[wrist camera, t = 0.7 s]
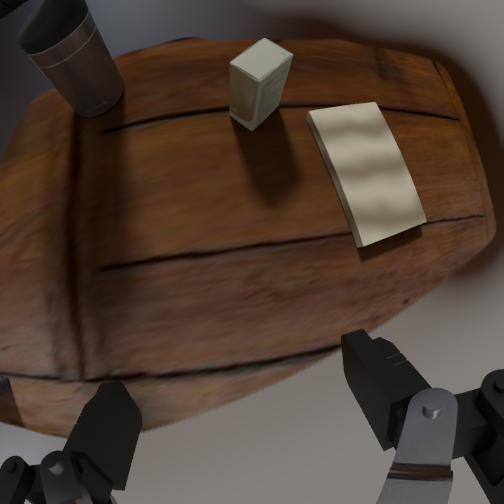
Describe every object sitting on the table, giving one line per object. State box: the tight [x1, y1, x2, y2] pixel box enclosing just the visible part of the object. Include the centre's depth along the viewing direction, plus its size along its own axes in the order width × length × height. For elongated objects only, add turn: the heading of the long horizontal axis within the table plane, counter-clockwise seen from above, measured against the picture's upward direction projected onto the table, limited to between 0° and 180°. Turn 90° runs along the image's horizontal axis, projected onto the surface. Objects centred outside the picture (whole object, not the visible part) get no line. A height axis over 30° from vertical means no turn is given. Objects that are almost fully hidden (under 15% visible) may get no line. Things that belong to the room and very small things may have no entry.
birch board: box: [306, 102, 427, 248], centre depth 37 cm, size 20×12×2 cm, turn 19°
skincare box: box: [230, 38, 293, 131], centre depth 32 cm, size 6×4×12 cm
